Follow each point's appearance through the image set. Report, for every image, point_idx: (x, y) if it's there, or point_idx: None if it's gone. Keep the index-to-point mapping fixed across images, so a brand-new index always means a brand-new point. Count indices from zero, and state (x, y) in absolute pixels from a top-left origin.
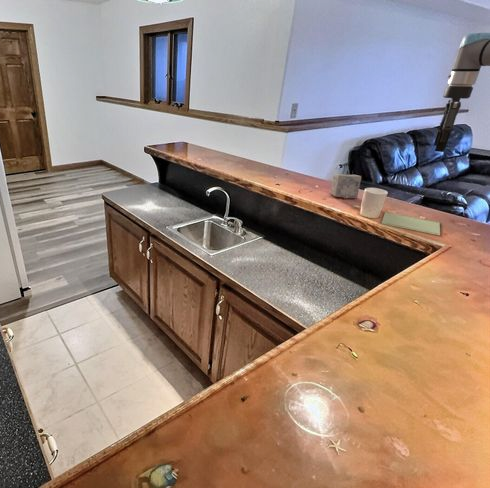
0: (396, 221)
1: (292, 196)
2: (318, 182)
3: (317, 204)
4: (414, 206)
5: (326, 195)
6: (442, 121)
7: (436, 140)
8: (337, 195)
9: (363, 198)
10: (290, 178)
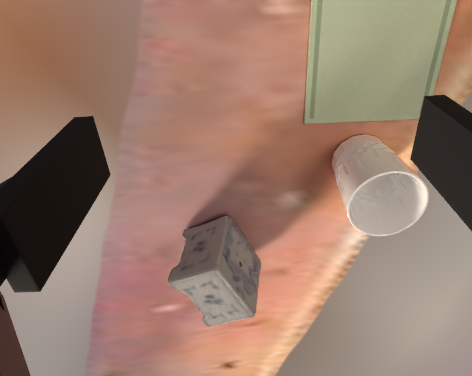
0: (388, 81)
1: (306, 324)
2: (123, 313)
3: (338, 273)
4: (151, 42)
5: None
6: (28, 370)
7: (92, 191)
8: (258, 259)
9: (388, 212)
10: (146, 361)
